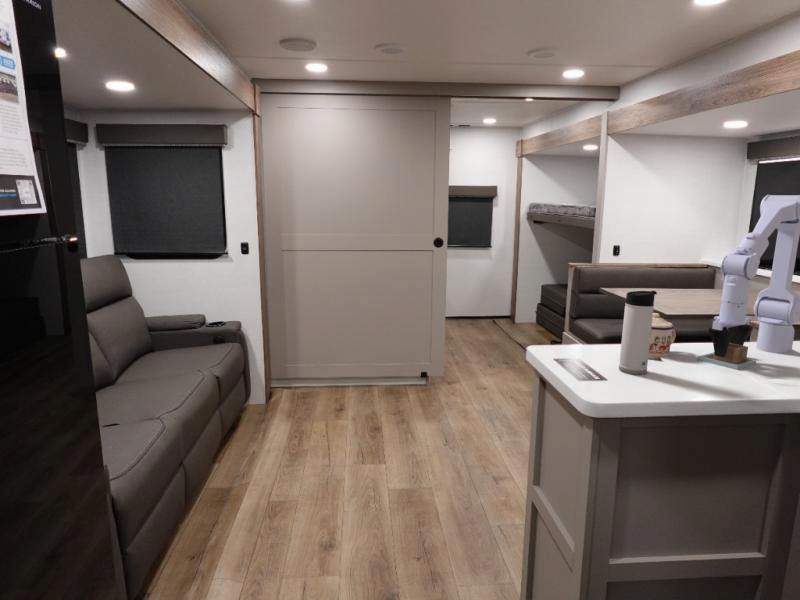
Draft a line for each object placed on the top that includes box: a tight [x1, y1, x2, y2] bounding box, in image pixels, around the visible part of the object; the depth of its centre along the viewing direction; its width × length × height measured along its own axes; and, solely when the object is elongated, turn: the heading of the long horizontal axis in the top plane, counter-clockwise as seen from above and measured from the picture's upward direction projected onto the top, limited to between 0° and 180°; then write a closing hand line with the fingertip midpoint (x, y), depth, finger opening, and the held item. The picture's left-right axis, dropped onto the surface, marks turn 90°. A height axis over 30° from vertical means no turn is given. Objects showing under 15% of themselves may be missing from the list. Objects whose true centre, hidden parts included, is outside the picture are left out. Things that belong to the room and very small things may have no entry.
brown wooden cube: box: [712, 343, 749, 365], centre depth 137 cm, size 5×5×5 cm
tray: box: [697, 351, 757, 371], centre depth 138 cm, size 10×10×2 cm
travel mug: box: [618, 290, 658, 376], centre depth 130 cm, size 6×7×20 cm
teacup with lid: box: [648, 312, 677, 361], centre depth 146 cm, size 12×9×12 cm
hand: (727, 354), depth 138 cm, fingers open, 7 cm apart
